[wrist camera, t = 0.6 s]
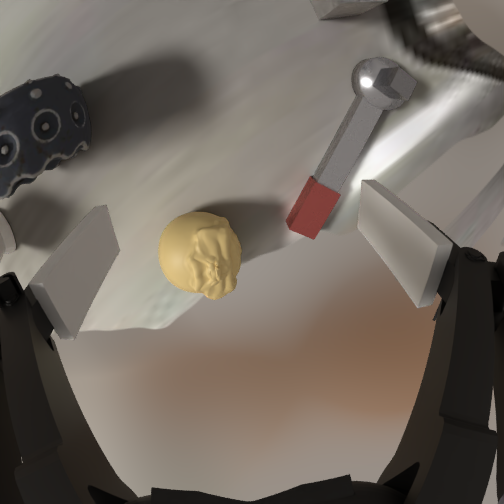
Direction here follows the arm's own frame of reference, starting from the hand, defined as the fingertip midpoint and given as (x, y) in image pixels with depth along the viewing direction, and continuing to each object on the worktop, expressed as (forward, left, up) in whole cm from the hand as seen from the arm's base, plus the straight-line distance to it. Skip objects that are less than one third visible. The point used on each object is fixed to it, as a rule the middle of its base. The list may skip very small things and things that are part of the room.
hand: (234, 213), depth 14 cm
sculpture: (+15, -5, -27) cm, 32 cm away
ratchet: (0, +16, -27) cm, 32 cm away
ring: (-5, -27, -27) cm, 39 cm away
